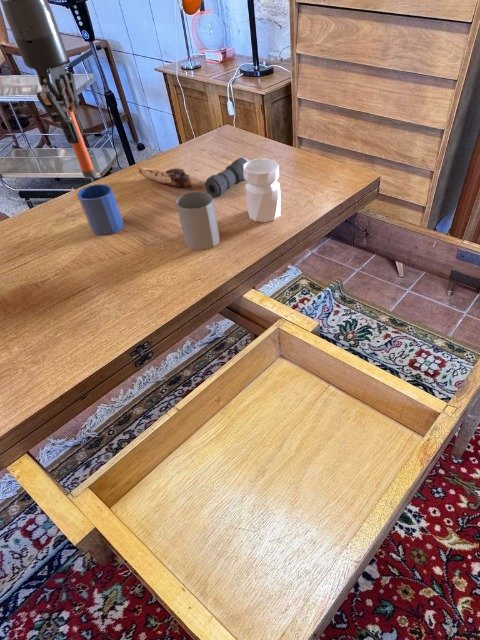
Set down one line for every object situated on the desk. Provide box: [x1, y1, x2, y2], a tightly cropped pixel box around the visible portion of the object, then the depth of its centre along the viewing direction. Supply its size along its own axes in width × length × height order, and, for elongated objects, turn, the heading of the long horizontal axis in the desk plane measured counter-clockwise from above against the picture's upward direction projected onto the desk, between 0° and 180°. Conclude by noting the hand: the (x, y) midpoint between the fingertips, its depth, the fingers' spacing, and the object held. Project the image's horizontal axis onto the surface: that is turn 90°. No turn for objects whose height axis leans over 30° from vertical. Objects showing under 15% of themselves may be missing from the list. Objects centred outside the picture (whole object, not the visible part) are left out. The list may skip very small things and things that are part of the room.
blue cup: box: [76, 183, 125, 236], centre depth 109 cm, size 8×8×9 cm
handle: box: [63, 110, 97, 178], centre depth 91 cm, size 3×3×12 cm
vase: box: [243, 158, 282, 223], centre depth 111 cm, size 9×9×12 cm
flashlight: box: [204, 156, 249, 198], centre depth 123 cm, size 15×5×5 cm, turn 148°
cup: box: [175, 191, 221, 251], centre depth 104 cm, size 8×8×10 cm
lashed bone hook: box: [138, 166, 193, 188], centre depth 127 cm, size 9×5×18 cm
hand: (76, 139), depth 90 cm, fingers closed on handle, 2 cm apart
